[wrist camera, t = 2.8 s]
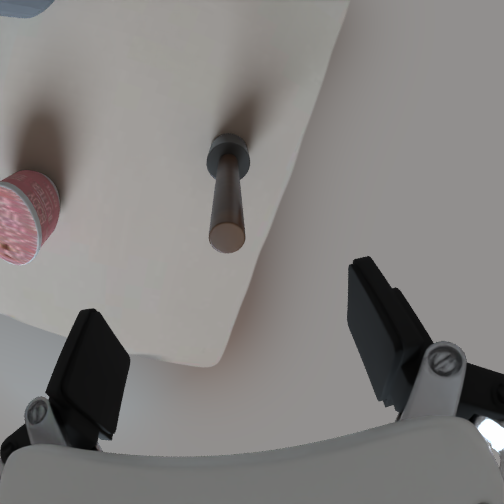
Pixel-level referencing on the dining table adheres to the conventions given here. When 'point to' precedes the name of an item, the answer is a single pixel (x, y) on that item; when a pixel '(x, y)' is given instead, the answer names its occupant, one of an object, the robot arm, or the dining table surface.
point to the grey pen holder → (23, 7)
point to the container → (26, 215)
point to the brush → (227, 192)
